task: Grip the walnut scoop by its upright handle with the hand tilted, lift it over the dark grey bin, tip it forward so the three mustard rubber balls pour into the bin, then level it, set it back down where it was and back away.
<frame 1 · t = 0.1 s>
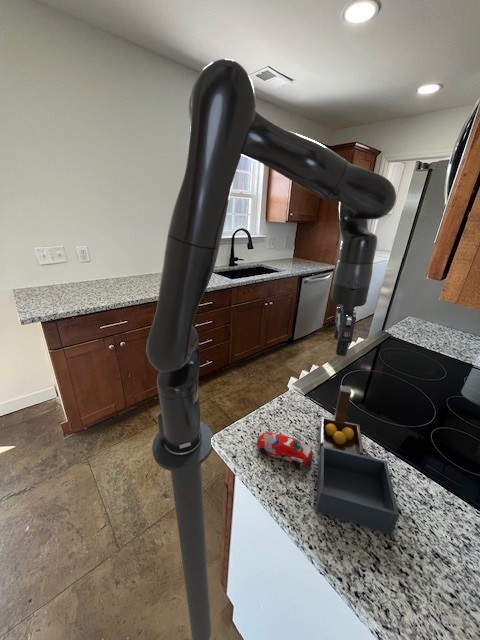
hand: (339, 346, 65), 23 cm above the worktop, tool pointing down, fingers open, 8 cm apart
scoop: (338, 445, 66), on the worktop, touching ball a, ball b, ball c
ball c: (339, 437, 65), point 2 cm above the worktop, tilted 49°, touching ball a, ball b, scoop
race car: (283, 453, 64), on the worktop
ball b: (347, 433, 66), point 2 cm above the worktop, touching ball c, scoop
bin: (350, 494, 54), on the worktop
ball a: (330, 429, 67), point 2 cm above the worktop, touching ball c, scoop
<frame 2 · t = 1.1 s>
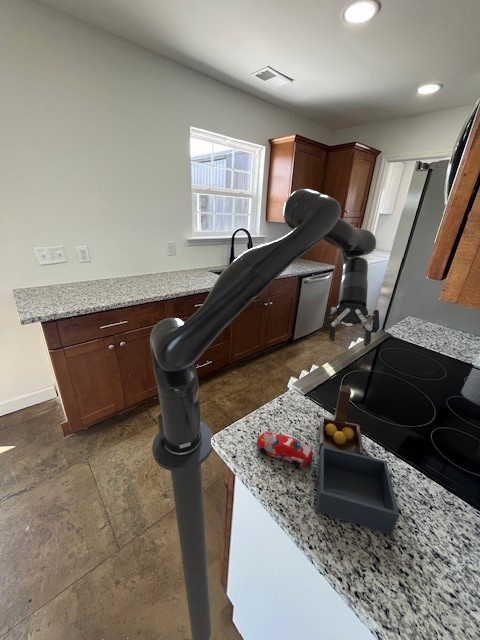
hand: (349, 343, 73), 20 cm above the worktop, tool tilted 45°, fingers open, 8 cm apart
nothing on the worktop moved.
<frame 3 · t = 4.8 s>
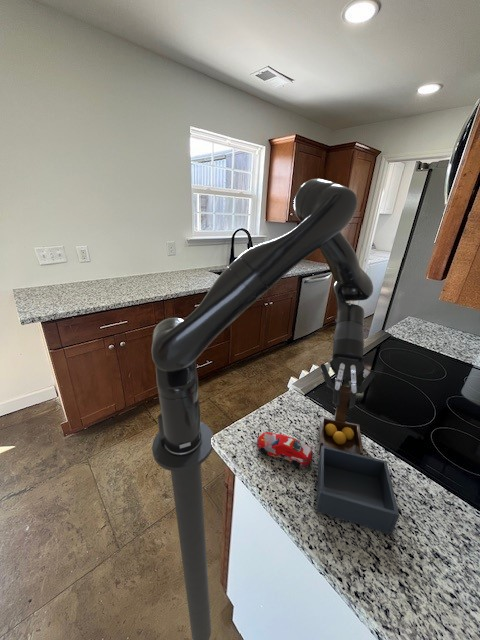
hand: (343, 407, 65), 9 cm above the worktop, tool tilted 45°, fingers closed on scoop, 2 cm apart
scoop: (338, 445, 66), on the worktop, touching ball a, ball b, ball c, gripper
ball c: (339, 437, 65), point 2 cm above the worktop, tilted 49°, touching ball a, scoop
ball b: (347, 433, 66), point 2 cm above the worktop, touching scoop
everything else where it was.
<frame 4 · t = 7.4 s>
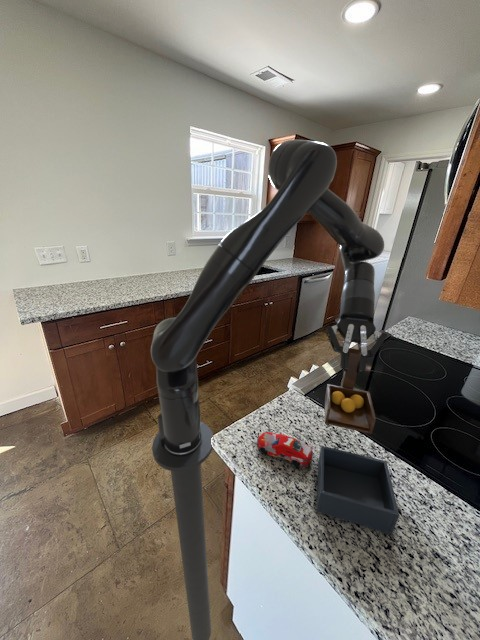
hand: (352, 371, 59), 21 cm above the worktop, tool tilted 45°, fingers closed on scoop, 2 cm apart
scoop: (346, 414, 59), point 12 cm above the worktop, touching ball a, ball b, ball c, gripper
ball c: (348, 405, 58), point 14 cm above the worktop, tilted 50°, touching ball a, scoop
ball b: (356, 401, 60), point 14 cm above the worktop, touching scoop
ball a: (337, 397, 61), point 14 cm above the worktop, touching ball c, scoop
everything else where it was.
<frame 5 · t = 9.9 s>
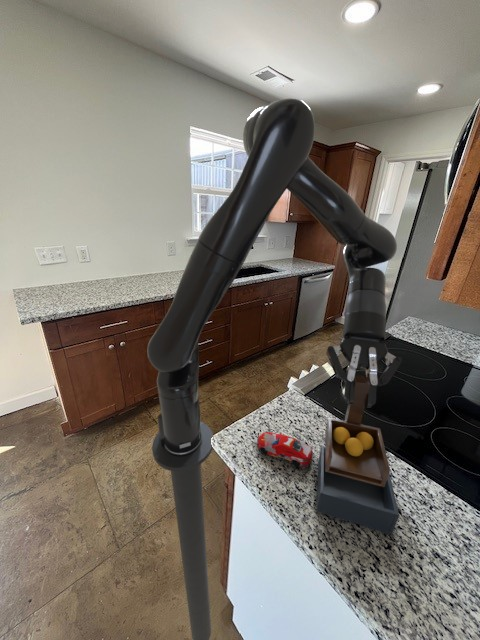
hand: (359, 405, 47), 22 cm above the worktop, tool tilted 45°, fingers closed on scoop, 2 cm apart
scoop: (351, 457, 48), point 13 cm above the worktop, touching ball a, ball b, ball c, gripper
ball c: (354, 446, 47), point 15 cm above the worktop, tilted 49°, touching ball a, ball b, scoop
ball b: (364, 440, 48), point 15 cm above the worktop, touching ball c, scoop
ball a: (341, 435, 50), point 15 cm above the worktop, touching ball c, scoop
everything else where it was.
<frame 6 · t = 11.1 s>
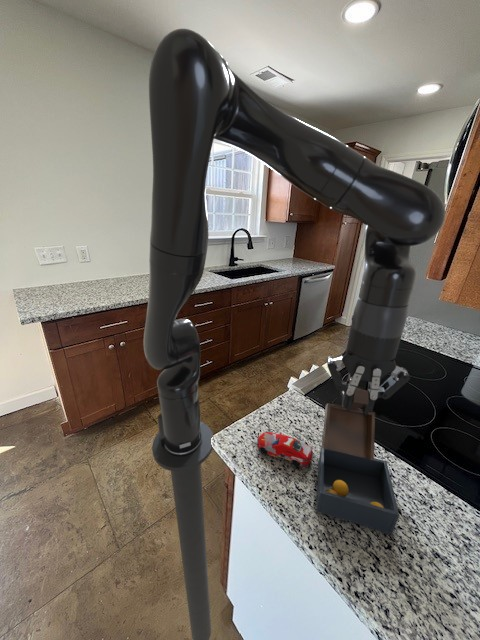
hand: (356, 409, 50), 19 cm above the worktop, tool pointing down, fingers closed on scoop, 2 cm apart
scoop: (346, 431, 57), point 10 cm above the worktop, tilted 45°, touching gripper
ball c: (340, 488, 54), point 2 cm above the worktop, tilted 102°, touching bin
ball b: (376, 511, 50), point 2 cm above the worktop, tilted 73°, touching bin
ball a: (331, 498, 52), point 2 cm above the worktop, tilted 76°, touching bin
everything else where it was.
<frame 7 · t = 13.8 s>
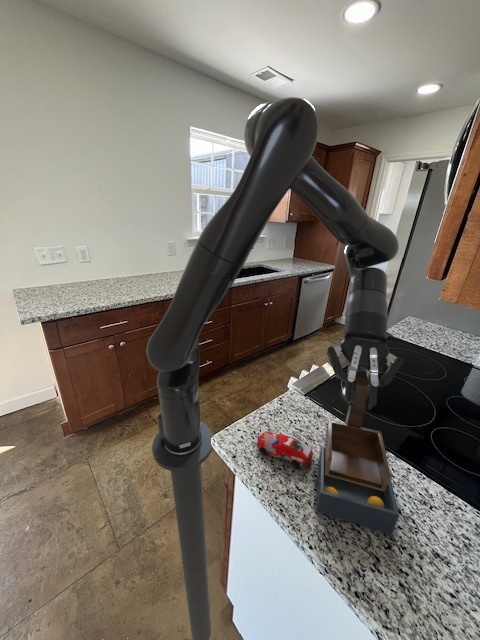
hand: (359, 406, 47), 22 cm above the worktop, tool tilted 45°, fingers closed on scoop, 2 cm apart
scoop: (352, 461, 47), point 13 cm above the worktop, touching gripper
ball c: (350, 472, 57), point 2 cm above the worktop, tilted 76°, touching bin
ball b: (375, 505, 51), point 2 cm above the worktop, tilted 55°, touching bin
ball a: (331, 495, 52), point 2 cm above the worktop, tilted 84°, touching bin
everything else where it was.
when the fingers open (9 cm above the worktop, at t = 20.4 s): scoop stays where it is, on the worktop.
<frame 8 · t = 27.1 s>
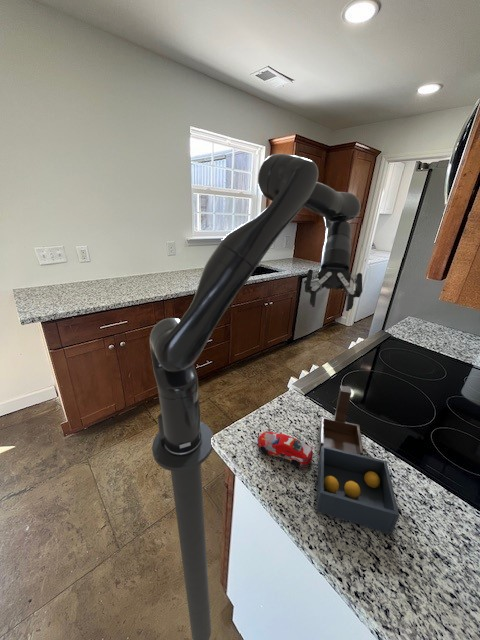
hand: (330, 307, 68), 31 cm above the worktop, tool tilted 45°, fingers open, 8 cm apart
scoop: (338, 446, 66), on the worktop
ball c: (352, 489, 53), point 2 cm above the worktop, tilted 128°, touching bin
ball b: (372, 479, 55), point 2 cm above the worktop, tilted 125°, touching bin
ball a: (331, 484, 54), point 2 cm above the worktop, tilted 115°, touching bin
everything else where it was.
at the end: ball a inside the target area in the bin (4.1 cm from its centre), point 2.0 cm above the bin's base; ball b inside the target area in the bin (5.2 cm from its centre), point 2.0 cm above the bin's base; ball c inside the target area in the bin (0.4 cm from its centre), point 2.0 cm above the bin's base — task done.
